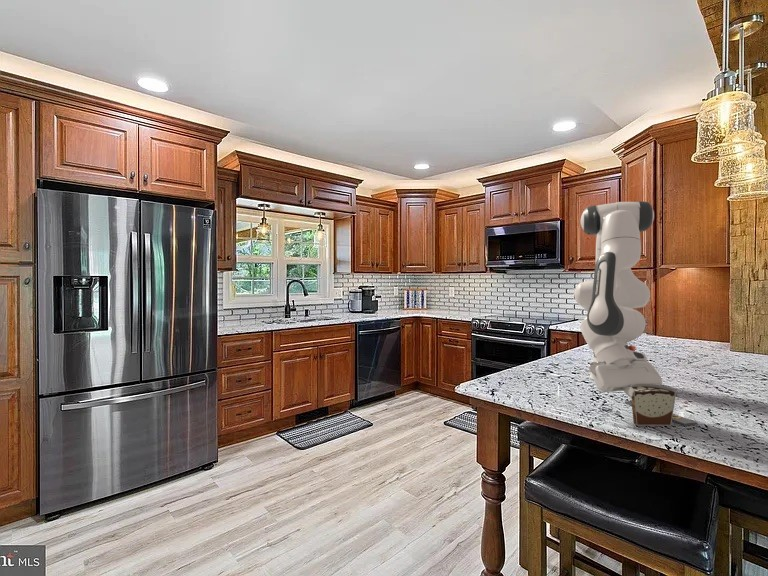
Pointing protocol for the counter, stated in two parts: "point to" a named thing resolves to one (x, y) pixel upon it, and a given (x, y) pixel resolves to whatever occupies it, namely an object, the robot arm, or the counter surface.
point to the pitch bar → (675, 418)
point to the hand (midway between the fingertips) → (642, 402)
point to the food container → (652, 404)
